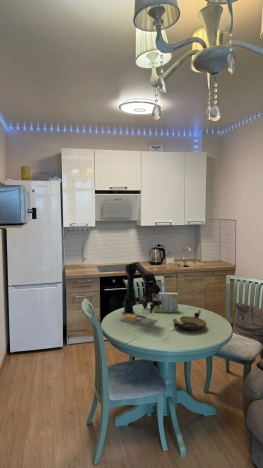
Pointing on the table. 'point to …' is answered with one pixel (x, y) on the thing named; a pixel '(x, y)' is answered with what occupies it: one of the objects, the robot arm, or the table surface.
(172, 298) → the snack box
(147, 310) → the grey plug
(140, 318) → the organiser
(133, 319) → the amber plug
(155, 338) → the table surface
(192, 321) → the oil lamp
